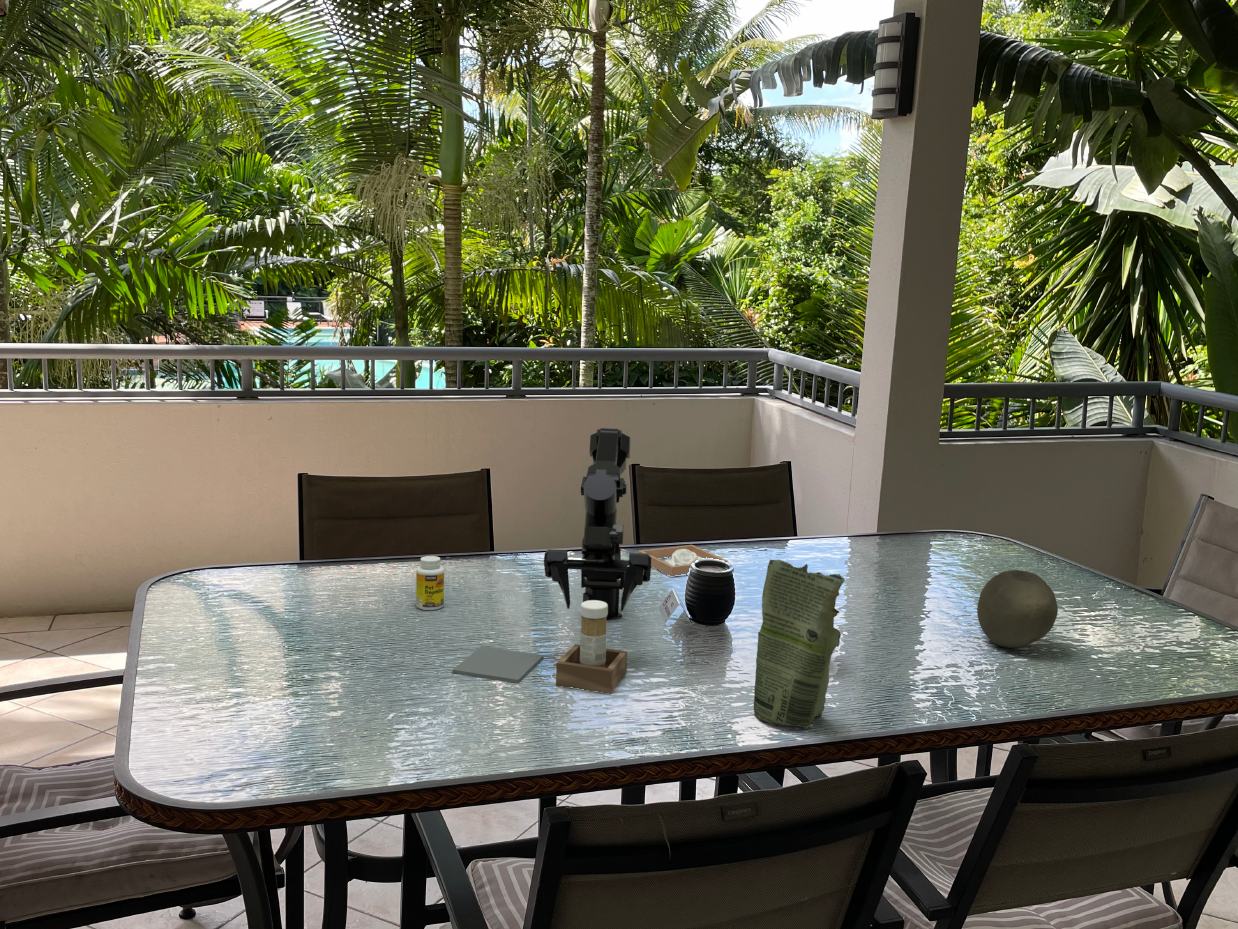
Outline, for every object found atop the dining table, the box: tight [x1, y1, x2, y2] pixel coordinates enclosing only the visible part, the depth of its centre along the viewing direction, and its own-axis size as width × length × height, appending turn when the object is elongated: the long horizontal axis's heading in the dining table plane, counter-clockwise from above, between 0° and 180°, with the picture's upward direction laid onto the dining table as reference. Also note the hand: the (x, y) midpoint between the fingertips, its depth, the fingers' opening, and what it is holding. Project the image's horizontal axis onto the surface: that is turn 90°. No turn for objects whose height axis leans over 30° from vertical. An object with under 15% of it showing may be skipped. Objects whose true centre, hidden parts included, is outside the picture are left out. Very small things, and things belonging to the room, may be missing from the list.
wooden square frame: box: [637, 544, 729, 576], centre depth 239 cm, size 16×16×2 cm
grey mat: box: [451, 645, 545, 684], centre depth 173 cm, size 12×12×1 cm
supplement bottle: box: [415, 555, 445, 611], centre depth 201 cm, size 6×6×10 cm
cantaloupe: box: [976, 569, 1059, 649], centre depth 190 cm, size 14×14×15 cm
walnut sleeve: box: [555, 643, 628, 695], centre depth 168 cm, size 10×10×4 cm
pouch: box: [753, 559, 846, 730], centre depth 154 cm, size 11×12×25 cm
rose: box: [663, 549, 702, 566], centre depth 239 cm, size 10×4×10 cm
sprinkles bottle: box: [579, 600, 608, 668], centre depth 167 cm, size 5×5×13 cm
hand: (595, 608), depth 170 cm, fingers open, 9 cm apart
